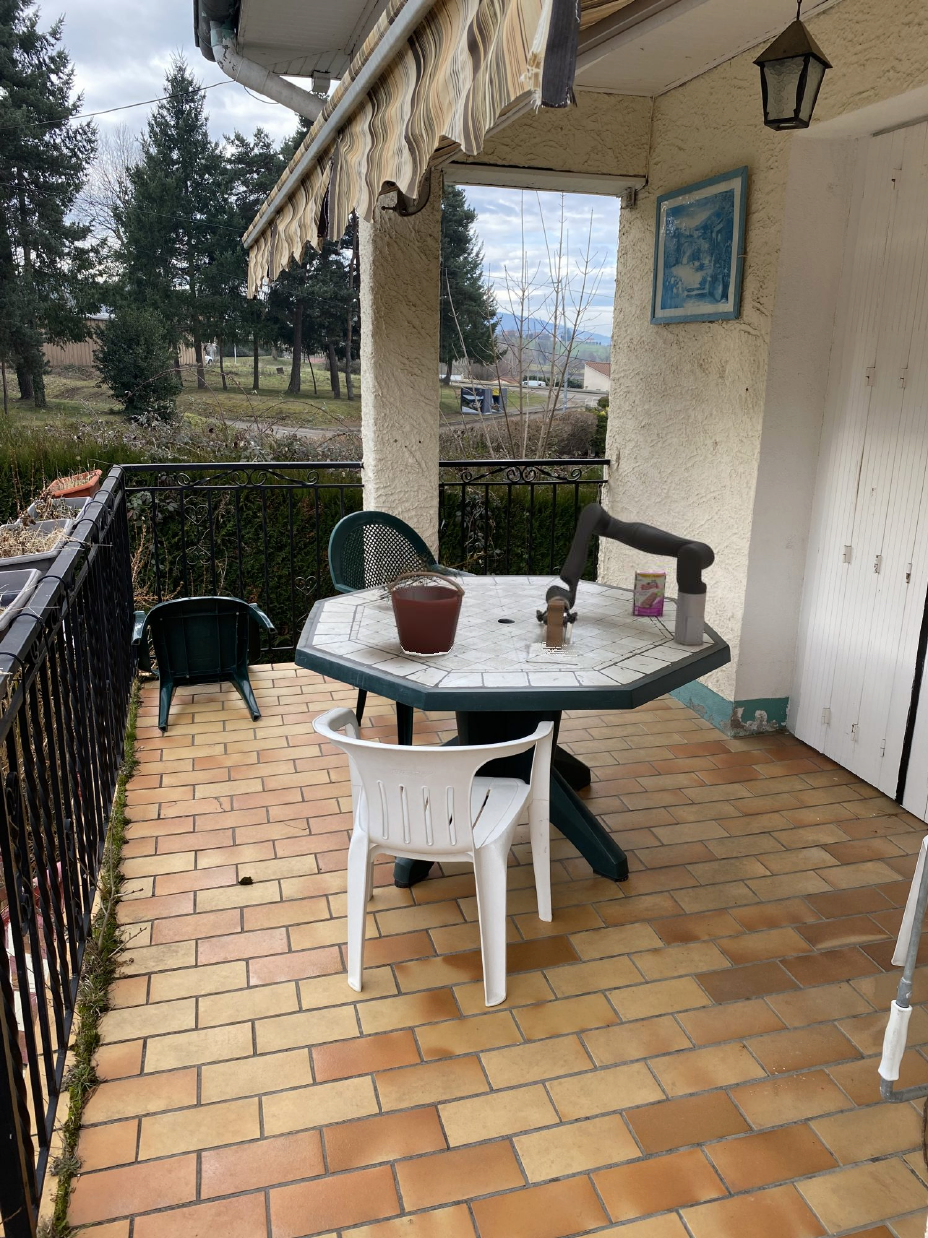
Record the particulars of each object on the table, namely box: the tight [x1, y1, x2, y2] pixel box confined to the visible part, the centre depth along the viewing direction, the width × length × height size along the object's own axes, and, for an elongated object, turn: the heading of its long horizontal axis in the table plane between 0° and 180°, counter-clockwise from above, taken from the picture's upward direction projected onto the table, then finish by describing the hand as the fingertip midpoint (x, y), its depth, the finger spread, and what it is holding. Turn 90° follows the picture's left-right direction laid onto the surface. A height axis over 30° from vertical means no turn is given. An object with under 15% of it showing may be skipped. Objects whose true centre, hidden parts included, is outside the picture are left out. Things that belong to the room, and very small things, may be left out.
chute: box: [541, 622, 574, 645], centre depth 308 cm, size 26×9×2 cm, turn 171°
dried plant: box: [376, 541, 492, 603], centre depth 333 cm, size 30×31×45 cm
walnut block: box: [546, 600, 564, 647], centre depth 287 cm, size 5×5×14 cm
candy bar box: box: [631, 569, 667, 617], centre depth 332 cm, size 11×5×16 cm, turn 84°
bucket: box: [385, 571, 466, 654], centre depth 285 cm, size 24×22×25 cm
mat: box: [543, 643, 581, 662], centre depth 285 cm, size 20×16×1 cm
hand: (555, 622), depth 284 cm, fingers closed on walnut block, 5 cm apart
